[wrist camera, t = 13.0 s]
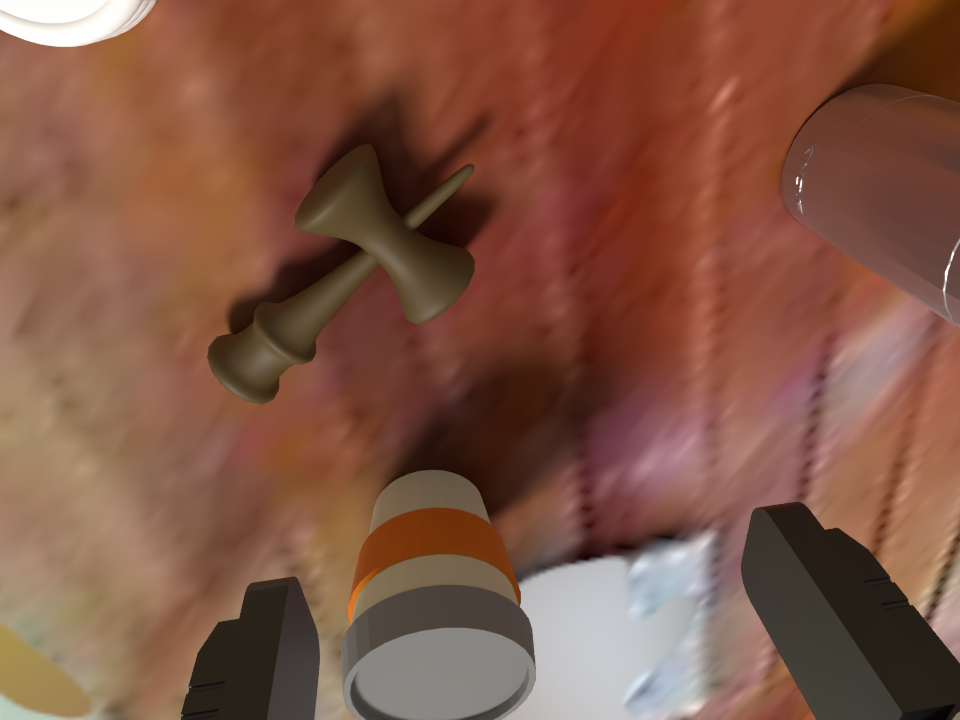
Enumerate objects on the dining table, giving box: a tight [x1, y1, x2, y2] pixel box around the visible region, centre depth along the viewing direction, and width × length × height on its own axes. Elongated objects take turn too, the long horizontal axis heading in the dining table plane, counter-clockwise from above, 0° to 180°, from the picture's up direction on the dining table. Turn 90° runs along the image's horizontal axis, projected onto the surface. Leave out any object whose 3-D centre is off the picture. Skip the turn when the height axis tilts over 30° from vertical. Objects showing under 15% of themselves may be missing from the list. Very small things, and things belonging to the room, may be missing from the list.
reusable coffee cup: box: [341, 470, 536, 720], centre depth 46 cm, size 13×13×15 cm
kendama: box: [207, 143, 475, 405], centre depth 37 cm, size 6×10×20 cm
